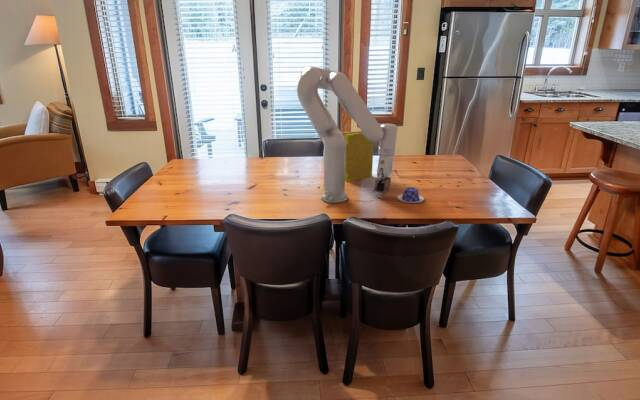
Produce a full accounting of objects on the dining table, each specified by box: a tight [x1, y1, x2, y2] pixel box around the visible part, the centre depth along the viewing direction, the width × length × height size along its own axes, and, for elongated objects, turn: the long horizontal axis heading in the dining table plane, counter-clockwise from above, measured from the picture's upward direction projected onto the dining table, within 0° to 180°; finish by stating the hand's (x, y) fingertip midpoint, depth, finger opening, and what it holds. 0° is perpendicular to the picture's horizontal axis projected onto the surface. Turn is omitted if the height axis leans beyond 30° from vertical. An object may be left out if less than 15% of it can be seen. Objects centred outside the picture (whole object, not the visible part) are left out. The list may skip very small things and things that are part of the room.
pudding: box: [397, 186, 425, 204], centre depth 172 cm, size 12×12×5 cm
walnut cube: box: [373, 176, 392, 194], centre depth 174 cm, size 6×6×6 cm
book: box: [340, 130, 374, 182], centre depth 198 cm, size 17×7×25 cm, turn 112°
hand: (382, 188), depth 175 cm, fingers closed on walnut cube, 6 cm apart
